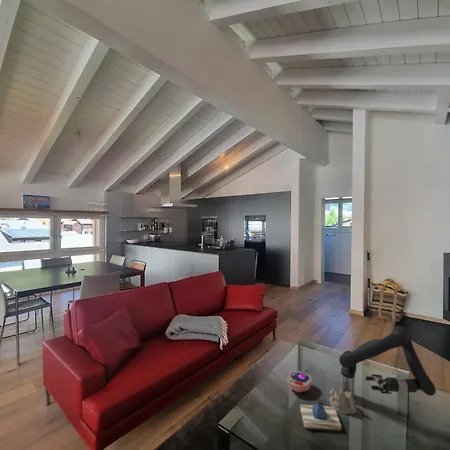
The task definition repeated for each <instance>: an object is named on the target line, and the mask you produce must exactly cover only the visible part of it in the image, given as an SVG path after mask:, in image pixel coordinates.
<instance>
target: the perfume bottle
mask: <svg viewBox="0 0 450 450" xmlns="http://www.w3.org/2000/svg"><path fill="white" fill-rule="evenodd" d="M323 404H324V403H323V400H322V399H320V398H318V399H317V400H316V403H315V404H313V405H314V406H313V415H314V418H315V419H324V420H326V411H325V409H324V407H323V406H324V405H323Z"/></svg>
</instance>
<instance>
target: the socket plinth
mask: <svg viewBox="0 0 450 450" xmlns="http://www.w3.org/2000/svg"><path fill="white" fill-rule="evenodd" d="M299 405H300V406H299V411H300V415H301V419H302V425H303V429H306V430H316V431H317V430H319V431H332V432H342V424H341V422H340V419H339V416H338V413H337V411H336V410H335V408H334V407H332V406H331V405H330V406H327V405H326V406H325V405H323V407H324V409H325V411H326V420H324V419H315V418H314V415H313V406H314V405H315V404H312V405H311V404H299Z"/></svg>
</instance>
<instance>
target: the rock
mask: <svg viewBox="0 0 450 450" xmlns="http://www.w3.org/2000/svg"><path fill="white" fill-rule="evenodd" d="M328 400H329V404H330V407H334V408H335V411H336V413H337V412H338V413H339V414H344V415H349V414H357V412H358V407H357V406H356V405H357V404H356V402H357V401H356V400H355V399H353V398H352V393H351V392H349V393H348V392H347V391H346V392H343V391H342V390H341V389H340V390H339V391H336V389H335V388H334V387H333V388H332V389H331V390H330V391H329V399H328Z"/></svg>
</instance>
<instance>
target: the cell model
mask: <svg viewBox="0 0 450 450" xmlns="http://www.w3.org/2000/svg"><path fill="white" fill-rule="evenodd" d="M286 380H287V381H286V383H287V385H288V386H289V388H291V390H293V391H294V392H296V393H303V392H308V391H309V390H310V388H311V386H312V383H313V377H312V375H310V374H309V373H307V372H304V371H300V370H296V371H292V372H290V373H289V374H288V376H287V377H286Z"/></svg>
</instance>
